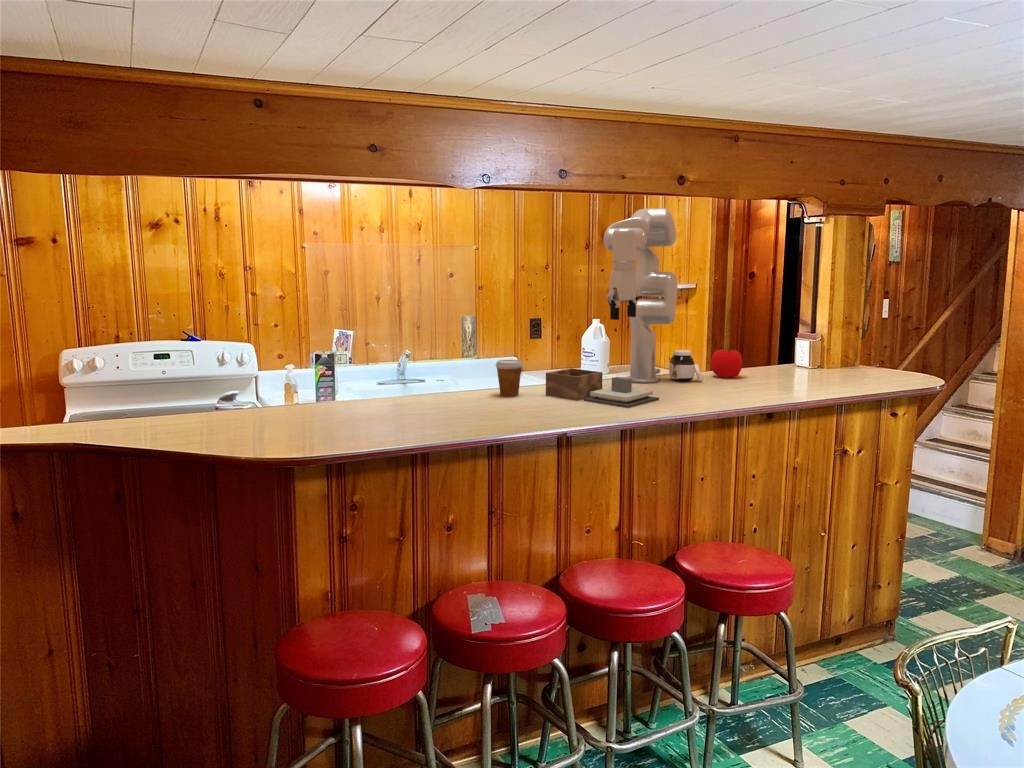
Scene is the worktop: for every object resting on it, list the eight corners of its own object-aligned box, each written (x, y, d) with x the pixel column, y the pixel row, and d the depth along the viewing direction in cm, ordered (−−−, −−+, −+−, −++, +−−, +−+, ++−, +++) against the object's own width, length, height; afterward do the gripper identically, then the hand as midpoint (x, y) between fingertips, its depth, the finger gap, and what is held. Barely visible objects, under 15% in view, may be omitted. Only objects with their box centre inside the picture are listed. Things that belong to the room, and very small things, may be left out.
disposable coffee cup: (525, 393, 262) (525, 359, 260) (519, 398, 253) (519, 363, 251) (499, 392, 264) (499, 359, 262) (492, 397, 255) (492, 362, 253)
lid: (616, 392, 258) (616, 373, 257) (652, 397, 248) (653, 377, 246) (589, 398, 247) (590, 378, 246) (627, 404, 237) (627, 383, 236)
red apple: (726, 380, 284) (728, 351, 282) (702, 376, 296) (703, 347, 294) (749, 378, 290) (750, 349, 288) (724, 373, 302) (725, 345, 300)
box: (571, 390, 267) (571, 368, 266) (602, 394, 258) (602, 372, 256) (545, 395, 257) (545, 372, 256) (577, 400, 248) (577, 377, 246)
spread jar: (665, 379, 289) (666, 349, 287) (691, 377, 292) (692, 348, 290) (681, 384, 278) (682, 353, 276) (707, 382, 281) (709, 352, 279)
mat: (615, 393, 260) (615, 391, 260) (659, 399, 248) (659, 397, 247) (583, 400, 247) (583, 398, 247) (628, 408, 235) (628, 405, 235)
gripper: (629, 265, 252) (628, 315, 255) (599, 267, 240) (598, 320, 243) (647, 265, 247) (647, 316, 250) (617, 268, 235) (617, 321, 238)
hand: (623, 318), depth 247 cm, fingers open, 9 cm apart
